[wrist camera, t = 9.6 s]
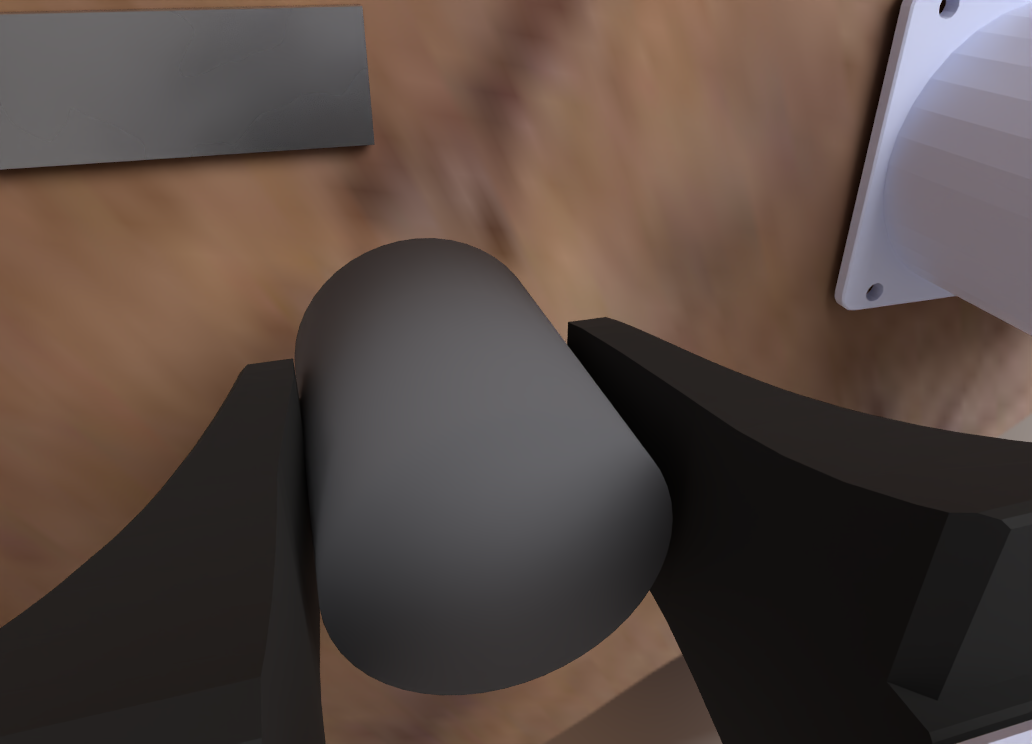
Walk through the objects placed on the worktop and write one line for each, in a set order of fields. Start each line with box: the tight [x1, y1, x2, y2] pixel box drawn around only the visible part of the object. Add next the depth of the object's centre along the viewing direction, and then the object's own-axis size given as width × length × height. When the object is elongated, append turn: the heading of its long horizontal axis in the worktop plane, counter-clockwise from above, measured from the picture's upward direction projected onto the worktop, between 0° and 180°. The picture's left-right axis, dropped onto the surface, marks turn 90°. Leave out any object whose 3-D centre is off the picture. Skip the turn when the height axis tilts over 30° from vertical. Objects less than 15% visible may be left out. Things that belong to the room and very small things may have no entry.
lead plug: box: [295, 238, 673, 695], centre depth 11 cm, size 4×4×5 cm
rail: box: [0, 4, 374, 170], centre depth 14 cm, size 11×2×1 cm, turn 90°
